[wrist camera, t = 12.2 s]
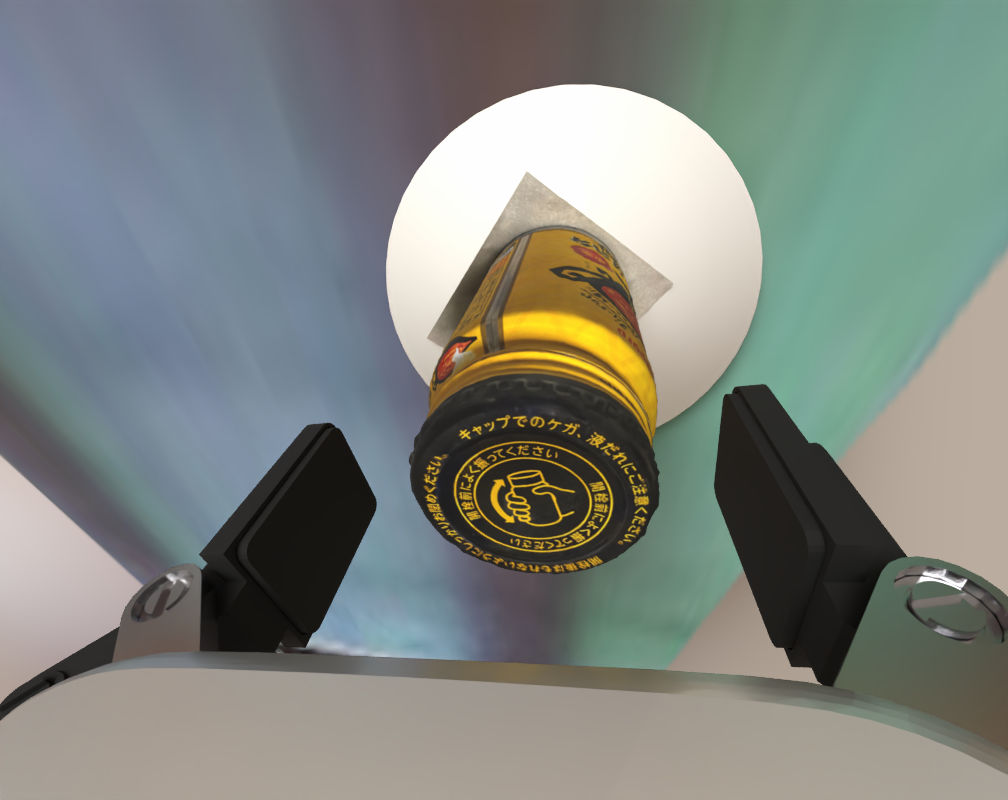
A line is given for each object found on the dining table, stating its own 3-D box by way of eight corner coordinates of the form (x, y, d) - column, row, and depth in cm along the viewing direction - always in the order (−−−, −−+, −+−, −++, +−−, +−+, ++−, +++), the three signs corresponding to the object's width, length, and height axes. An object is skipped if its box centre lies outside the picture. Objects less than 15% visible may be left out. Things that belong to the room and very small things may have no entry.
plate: (445, 444, 25) (440, 455, 25) (340, 139, 17) (328, 141, 16) (733, 428, 22) (739, 440, 21) (783, 29, 13) (796, 23, 13)
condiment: (672, 281, 17) (796, 500, 7) (550, 412, 22) (525, 655, 12) (527, 169, 16) (439, 258, 6) (428, 335, 20) (286, 539, 10)
